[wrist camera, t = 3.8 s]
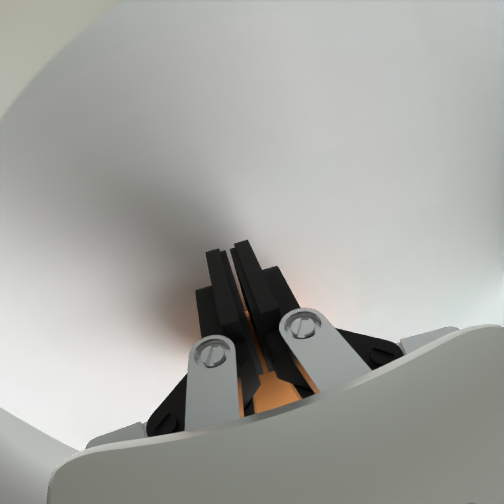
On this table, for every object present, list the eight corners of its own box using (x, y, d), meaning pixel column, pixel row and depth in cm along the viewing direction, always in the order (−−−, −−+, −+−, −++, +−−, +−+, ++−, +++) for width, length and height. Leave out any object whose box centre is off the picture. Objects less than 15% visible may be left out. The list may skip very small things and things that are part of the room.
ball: (297, 264, 14) (359, 361, 9) (310, 342, 17) (353, 425, 12) (174, 305, 13) (185, 420, 8) (215, 375, 17) (235, 465, 12)
